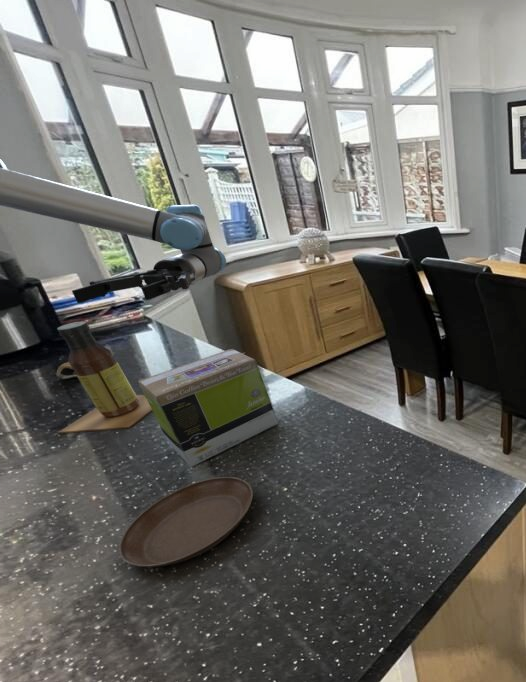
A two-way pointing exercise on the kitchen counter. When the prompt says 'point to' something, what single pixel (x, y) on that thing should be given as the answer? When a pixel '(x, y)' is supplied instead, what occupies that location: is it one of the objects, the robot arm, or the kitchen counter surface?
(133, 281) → the robot arm
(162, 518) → the saucer
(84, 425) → the cork mat
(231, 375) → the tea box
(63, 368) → the pastry
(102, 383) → the sauce bottle
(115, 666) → the kitchen counter surface
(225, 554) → the kitchen counter surface
